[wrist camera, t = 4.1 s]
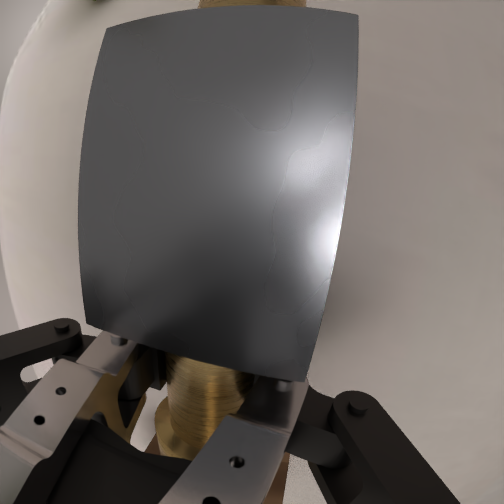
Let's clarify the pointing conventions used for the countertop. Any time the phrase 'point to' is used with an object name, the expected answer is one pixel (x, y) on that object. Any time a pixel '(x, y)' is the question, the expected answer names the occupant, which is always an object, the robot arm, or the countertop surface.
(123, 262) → the sleeve
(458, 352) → the countertop surface
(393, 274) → the countertop surface
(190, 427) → the tube
